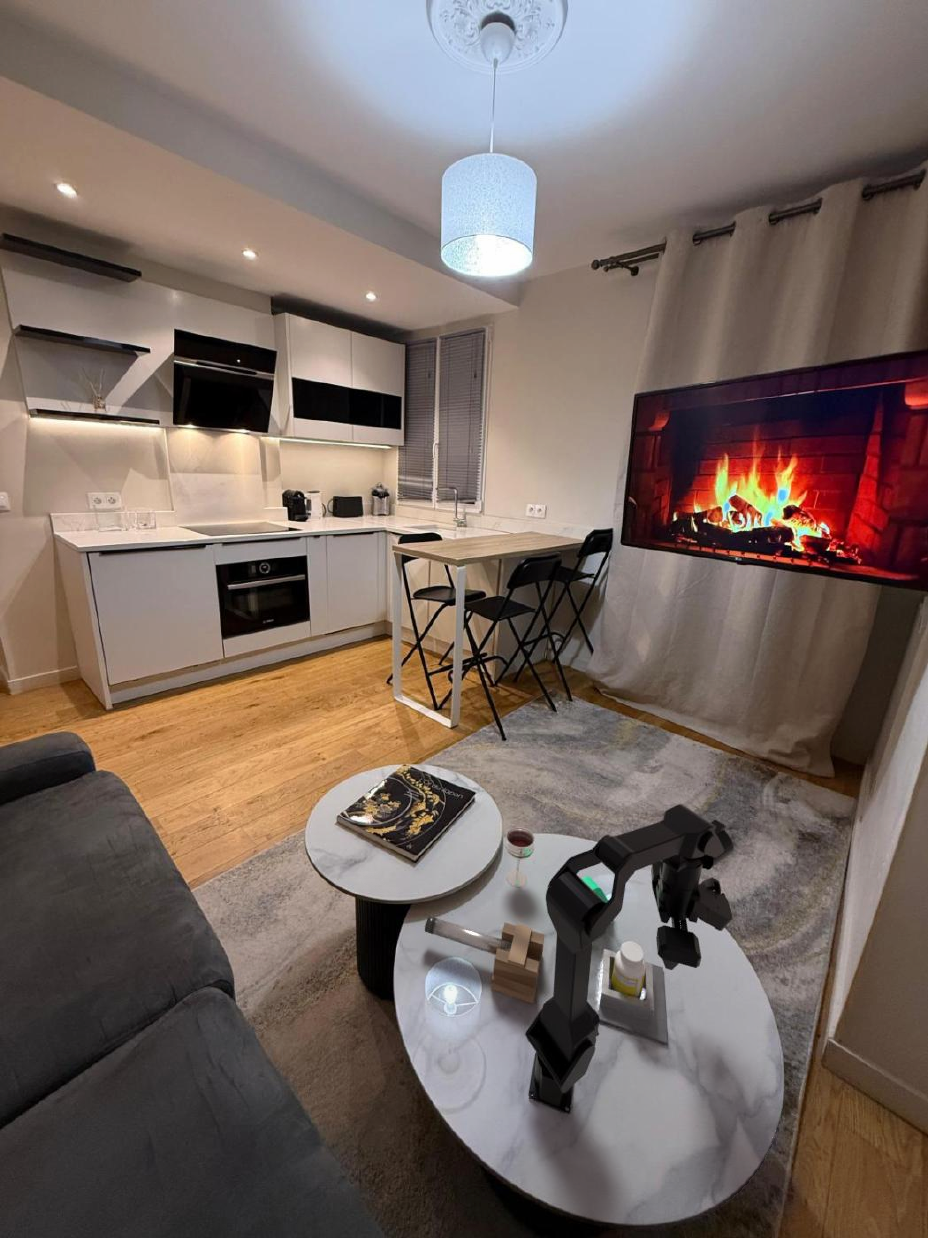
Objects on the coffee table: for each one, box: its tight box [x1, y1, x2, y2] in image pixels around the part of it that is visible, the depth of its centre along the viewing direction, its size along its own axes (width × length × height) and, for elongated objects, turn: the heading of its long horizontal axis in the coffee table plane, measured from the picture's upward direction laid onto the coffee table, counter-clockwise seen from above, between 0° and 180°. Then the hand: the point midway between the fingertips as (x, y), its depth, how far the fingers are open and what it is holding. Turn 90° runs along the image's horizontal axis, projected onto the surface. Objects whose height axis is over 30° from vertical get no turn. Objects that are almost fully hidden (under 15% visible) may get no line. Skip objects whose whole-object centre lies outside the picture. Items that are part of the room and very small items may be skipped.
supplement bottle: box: [611, 941, 646, 999], centre depth 91 cm, size 5×5×10 cm
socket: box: [587, 945, 668, 1046], centre depth 92 cm, size 14×14×4 cm
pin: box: [424, 915, 512, 955], centre depth 97 cm, size 18×3×3 cm, turn 72°
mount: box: [490, 921, 545, 1004], centre depth 94 cm, size 10×8×7 cm
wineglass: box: [504, 826, 536, 888], centre depth 115 cm, size 7×7×12 cm
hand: (666, 944), depth 88 cm, fingers open, 9 cm apart
